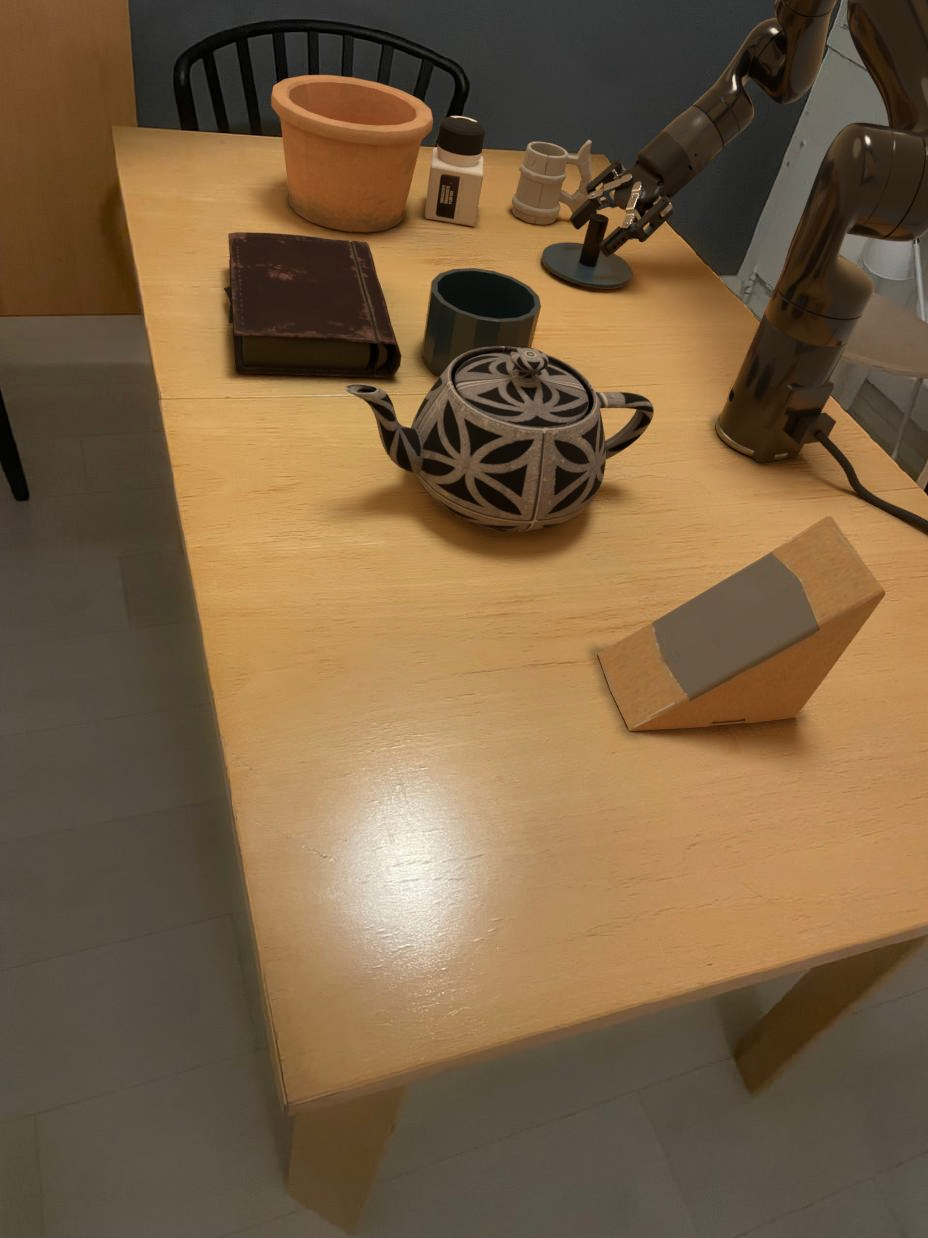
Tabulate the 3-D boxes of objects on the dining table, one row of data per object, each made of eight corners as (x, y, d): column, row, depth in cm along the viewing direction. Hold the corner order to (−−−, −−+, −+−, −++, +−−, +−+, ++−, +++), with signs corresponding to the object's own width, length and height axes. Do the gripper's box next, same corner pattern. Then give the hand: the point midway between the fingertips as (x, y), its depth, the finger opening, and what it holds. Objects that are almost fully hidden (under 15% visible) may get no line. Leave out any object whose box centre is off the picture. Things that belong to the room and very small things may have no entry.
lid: (647, 290, 126) (664, 237, 121) (568, 294, 121) (582, 239, 116) (601, 248, 134) (615, 196, 129) (524, 251, 129) (536, 197, 123)
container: (474, 227, 132) (490, 134, 123) (423, 218, 131) (435, 124, 122) (475, 207, 137) (490, 117, 128) (426, 199, 137) (438, 107, 127)
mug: (508, 202, 141) (523, 120, 133) (579, 213, 143) (599, 133, 134) (511, 221, 136) (527, 138, 127) (585, 232, 138) (606, 151, 129)
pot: (542, 384, 103) (559, 317, 97) (447, 394, 98) (458, 324, 92) (497, 331, 110) (510, 266, 104) (406, 338, 105) (414, 269, 99)
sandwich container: (594, 651, 74) (649, 513, 63) (753, 642, 78) (830, 512, 67) (627, 733, 68) (694, 597, 58) (797, 719, 72) (889, 590, 62)
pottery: (238, 198, 125) (236, 86, 115) (339, 168, 139) (345, 66, 129) (355, 255, 119) (363, 141, 109) (448, 217, 133) (463, 114, 123)
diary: (369, 277, 115) (373, 239, 112) (399, 380, 99) (403, 339, 95) (222, 268, 110) (221, 227, 107) (227, 375, 94) (226, 331, 90)
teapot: (318, 438, 89) (326, 297, 78) (592, 430, 98) (631, 303, 87) (355, 566, 76) (370, 420, 66) (663, 543, 86) (720, 412, 75)
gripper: (642, 112, 121) (552, 197, 125) (700, 151, 113) (601, 242, 117) (661, 153, 127) (574, 233, 131) (717, 194, 119) (623, 278, 123)
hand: (587, 237), depth 124 cm, fingers open, 8 cm apart
